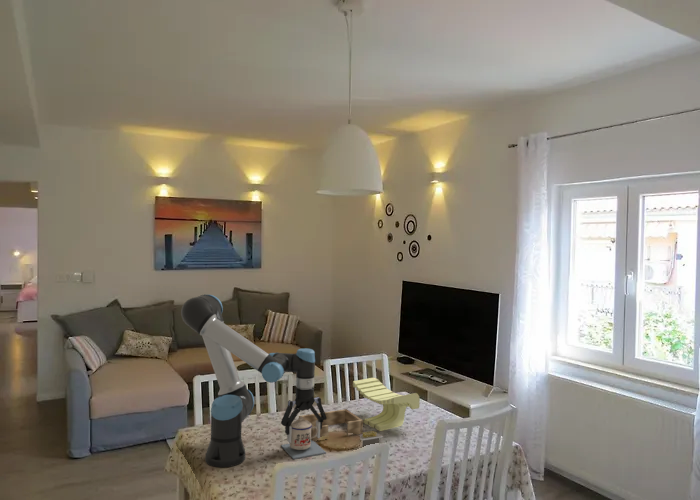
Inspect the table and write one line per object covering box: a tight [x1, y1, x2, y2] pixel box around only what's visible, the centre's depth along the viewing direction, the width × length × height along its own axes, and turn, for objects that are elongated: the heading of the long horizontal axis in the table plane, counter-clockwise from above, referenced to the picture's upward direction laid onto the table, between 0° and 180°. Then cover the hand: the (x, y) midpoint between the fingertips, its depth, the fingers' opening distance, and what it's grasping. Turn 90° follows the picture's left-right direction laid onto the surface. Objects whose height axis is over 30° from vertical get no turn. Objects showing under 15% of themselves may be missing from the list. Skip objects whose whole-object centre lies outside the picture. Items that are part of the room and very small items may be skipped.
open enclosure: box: [298, 408, 364, 443], centre depth 231 cm, size 24×16×6 cm
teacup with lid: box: [289, 416, 318, 450], centre depth 210 cm, size 12×9×12 cm
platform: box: [359, 430, 383, 448], centre depth 215 cm, size 12×18×7 cm, turn 115°
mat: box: [280, 440, 327, 461], centre depth 210 cm, size 14×14×1 cm
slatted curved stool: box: [352, 377, 421, 432], centre depth 243 cm, size 30×16×18 cm, turn 37°
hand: (303, 439), depth 210 cm, fingers closed on teacup with lid, 12 cm apart
